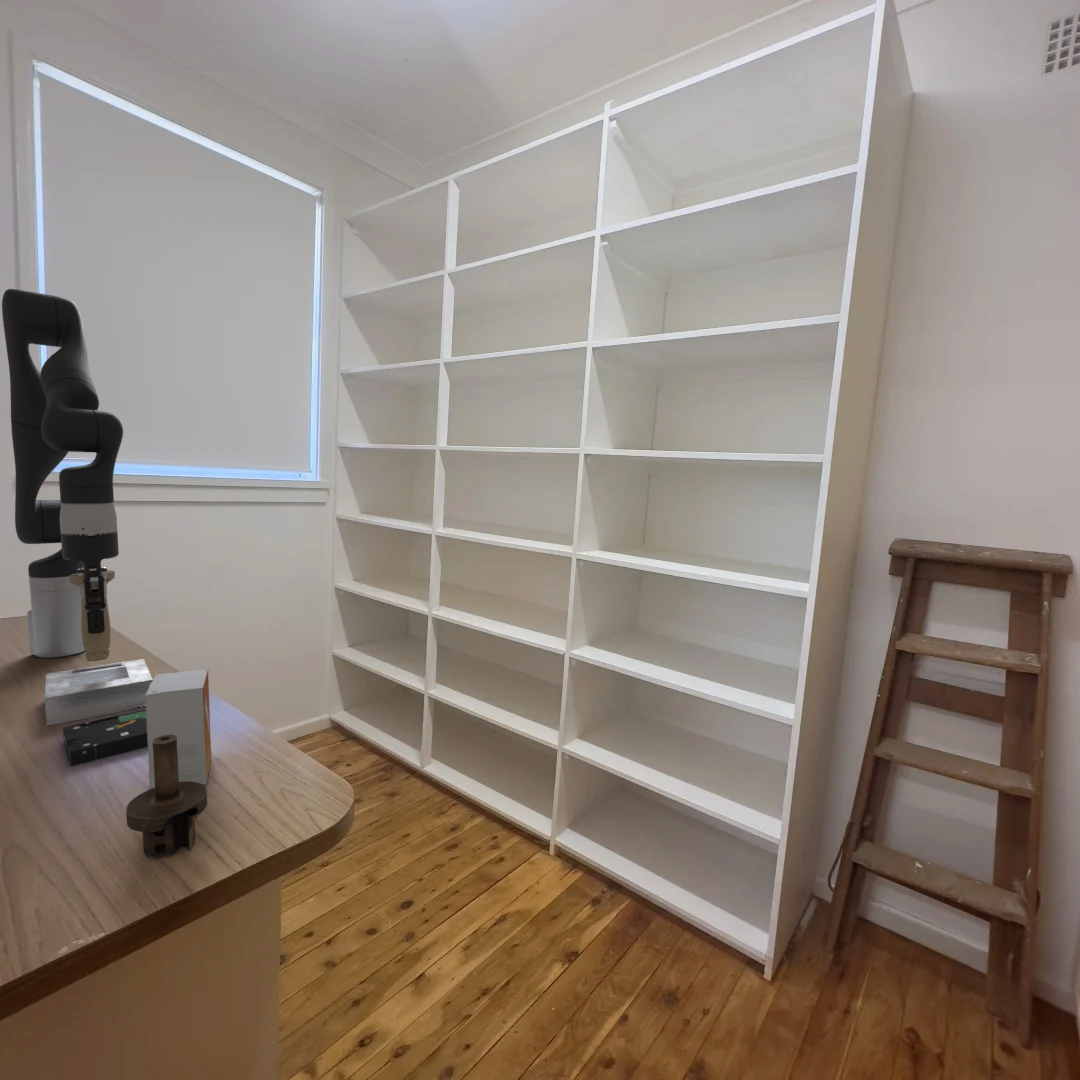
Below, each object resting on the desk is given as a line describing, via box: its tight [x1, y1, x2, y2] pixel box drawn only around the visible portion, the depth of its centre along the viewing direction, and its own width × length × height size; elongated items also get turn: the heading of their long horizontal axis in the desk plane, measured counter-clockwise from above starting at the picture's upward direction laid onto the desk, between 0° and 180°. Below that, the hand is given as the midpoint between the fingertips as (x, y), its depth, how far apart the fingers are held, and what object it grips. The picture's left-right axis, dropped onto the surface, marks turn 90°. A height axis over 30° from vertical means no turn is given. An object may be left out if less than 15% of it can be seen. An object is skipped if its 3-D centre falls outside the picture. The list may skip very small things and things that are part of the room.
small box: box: [145, 669, 212, 790], centre depth 75 cm, size 8×6×13 cm
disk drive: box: [62, 709, 148, 767], centre depth 86 cm, size 10×3×15 cm
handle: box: [70, 569, 116, 662], centre depth 98 cm, size 5×6×15 cm
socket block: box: [44, 658, 154, 727], centre depth 99 cm, size 14×14×5 cm
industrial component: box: [125, 735, 208, 859], centre depth 62 cm, size 9×7×12 cm
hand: (95, 629), depth 98 cm, fingers closed on handle, 4 cm apart
